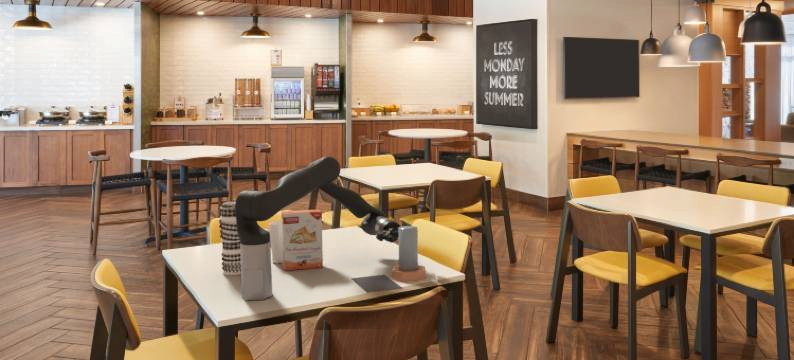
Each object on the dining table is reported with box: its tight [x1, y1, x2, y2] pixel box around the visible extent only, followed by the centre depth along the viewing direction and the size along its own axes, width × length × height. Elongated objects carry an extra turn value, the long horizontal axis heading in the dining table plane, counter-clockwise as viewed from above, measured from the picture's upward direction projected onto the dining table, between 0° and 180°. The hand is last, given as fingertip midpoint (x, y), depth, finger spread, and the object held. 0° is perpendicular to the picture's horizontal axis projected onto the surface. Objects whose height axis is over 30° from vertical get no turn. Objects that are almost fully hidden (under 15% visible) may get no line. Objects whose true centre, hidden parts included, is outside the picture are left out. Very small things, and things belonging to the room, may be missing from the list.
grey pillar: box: [398, 225, 419, 271], centre depth 228 cm, size 6×6×14 cm
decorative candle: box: [218, 201, 241, 276], centre depth 240 cm, size 9×9×25 cm
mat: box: [350, 274, 404, 294], centre depth 222 cm, size 18×12×1 cm, turn 21°
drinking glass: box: [268, 220, 283, 264], centre depth 253 cm, size 7×7×15 cm
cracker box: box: [281, 209, 324, 271], centre depth 244 cm, size 14×6×21 cm, turn 105°
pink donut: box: [392, 264, 427, 283], centre depth 229 cm, size 11×11×4 cm
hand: (403, 238), depth 232 cm, fingers open, 8 cm apart
